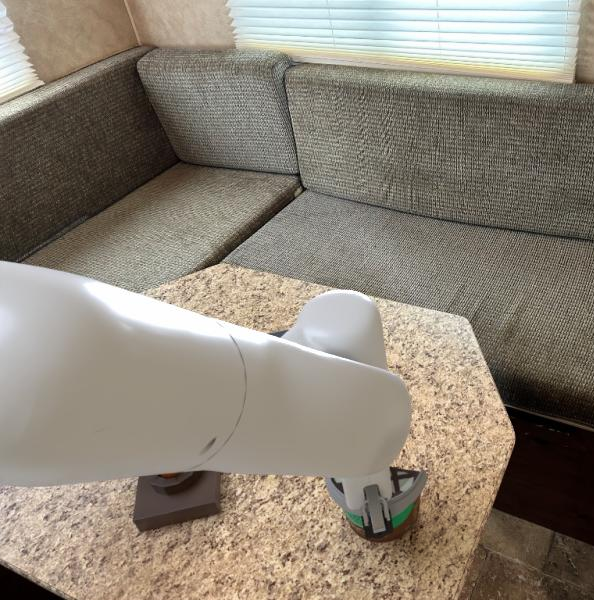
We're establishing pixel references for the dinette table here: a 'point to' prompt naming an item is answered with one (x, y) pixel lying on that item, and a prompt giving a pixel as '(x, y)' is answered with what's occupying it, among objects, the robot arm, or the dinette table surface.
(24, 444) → the robot arm
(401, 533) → the food container
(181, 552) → the dinette table surface
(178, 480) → the button box
